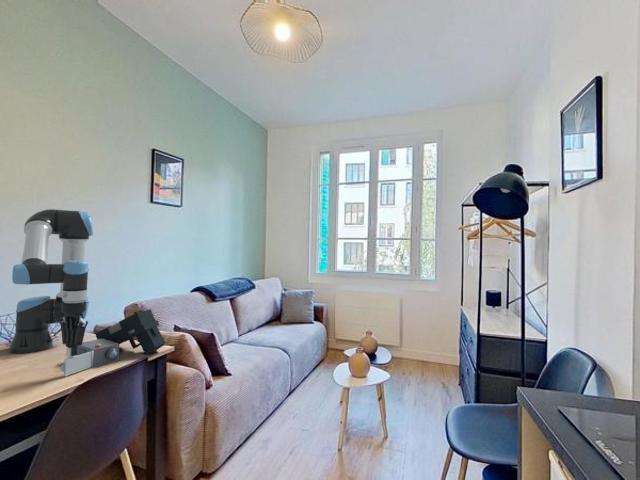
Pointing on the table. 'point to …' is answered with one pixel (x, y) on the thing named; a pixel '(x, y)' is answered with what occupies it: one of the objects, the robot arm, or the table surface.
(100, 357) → the camera body
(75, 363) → the door
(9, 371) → the table surface
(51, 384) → the table surface
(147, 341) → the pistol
